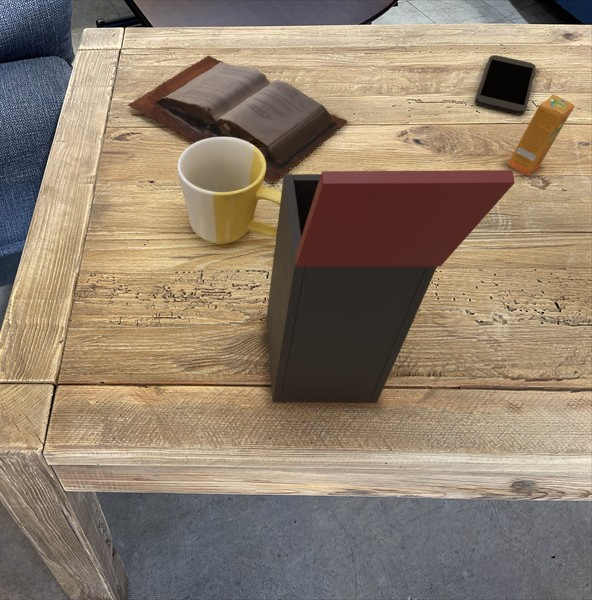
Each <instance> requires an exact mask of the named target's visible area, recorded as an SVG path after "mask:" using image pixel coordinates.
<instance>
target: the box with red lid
mask: <svg viewBox="0 0 592 600" xmlns="http://www.w3.org/2000/svg"><path fill="white" fill-rule="evenodd" d="M320 176H321V173H298V174H297V173H295V174H294V173H284V174H283V176H282V177H283V178H282V187H281V192H282V193H281V201H280V206H279V210H278V218H277V226H276V227H277V234H276V237H275V243H274V252H273V261H272V268H271V276H270V285H269V294H268V301H267V310H266V316H265V317H266V318H265V321H266V322H265V323H266V324H265V325H266V336H267V337H266V338H267V350H268V361H269V362H268V364H269V378H270V379H269V380H270V390H271V391H270V392H271V393H270V394H271V403H303V404H304V403H306V404H307V403H309V404H310V403H314V404H315V403H316V404H317V403H318V404H319V403H320V404H321V403H322V404H323V403H326V404H328V403H330V404H332V403H333V404H335V403H336V404H378V401H379V399H380V397H381V395H382V392H383V391H384V388H385V386H386V384H387V381H388V379H389V377H390V374H391V372H392V370H393V368H394V365H395V363H396V361H397V359H398V356H399V354H400V352H401V350H402V348H403V345H404V343H405V340H406V338H407V337H408V334H409V331H410V329H411V328H412V327H411V326H413V322H414V320H415V318H416V316H417V313H418V312H419V309H420V307H421V304H422V302H423V300H424V297H425V296H426V293H427V291H428V288H429V287H430V284H431V282H432V280H433V277H434V275H435V273H436V270H437V268H438V267H296V264H295V256H296V253H297V249H298V246H299V243H300V240H301V237H302V234H303V230H304V227H305V224H306V221H307V218H308V214H309V211H310V208H311V205H312V202H313V199H314V195H315V192H316V189H317V186H318V183H319V180H320Z"/></svg>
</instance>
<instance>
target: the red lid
mask: <svg viewBox="0 0 592 600" xmlns="http://www.w3.org/2000/svg"><path fill="white" fill-rule="evenodd" d="M513 172H514V171H513V169H482V170H481V169H480V170H479V169H472V170H471V169H470V170H467V169H466V170H465V169H464V170H462V169H461V170H457V169H456V170H452V169H451V170H326V171H325V170H324V171H323V170H322V171H321V173H320V174H321V176H320V180H319V183H318V186H317V189H316V192H315V195H314V199H313V202H312V205H311V208H310V211H309V214H308V218H307V221H306V224H305V227H304V230H303V234H302V237H301V240H300V243H299V246H298V249H297V253H296V256H295V264H296V267H437V268H438V267H442V266H443V265H444V263H445V262H447V260H448V259H449V258H450V256H452V255H453V253H454V252H455V251H456V250H457V249H458V248H459V246H460V245H461V244H463V242H464V241H465V240H466V239H467V237H469V235H470V234H471V233H472V232H473V231H474V230H475V229H476V227H477V226H478V225H479V224H480V223H481V222H482V221H483V220H484V218H486V216H487V215H489V213H490V211H491V210H492V209H493V208H494V207H495V206H496V205H497V204H498V203H499V201H500V200H501V199H502V198H503V197H504V196H505V195H506V194H507V192H509V190H510V189H511V188H512V187H513V185H514V184H515V183H516V181H515V177H514V173H513Z"/></svg>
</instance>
